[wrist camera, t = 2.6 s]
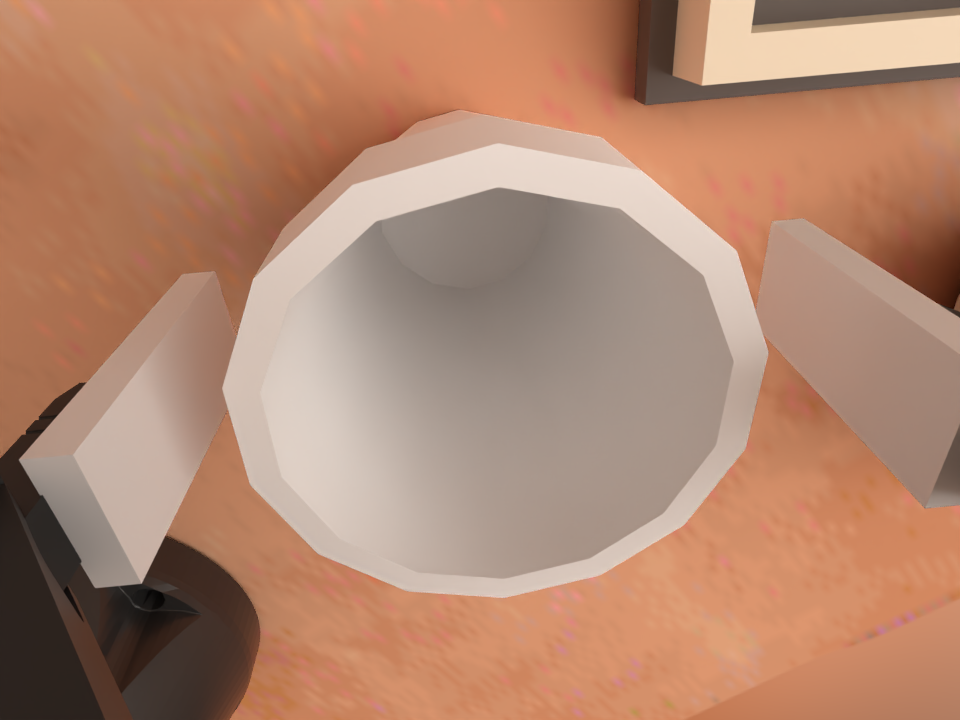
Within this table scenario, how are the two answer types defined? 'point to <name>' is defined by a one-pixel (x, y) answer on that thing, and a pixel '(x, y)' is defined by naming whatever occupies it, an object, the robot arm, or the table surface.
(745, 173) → the table surface
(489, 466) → the foam cup
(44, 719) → the robot arm
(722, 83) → the tray
